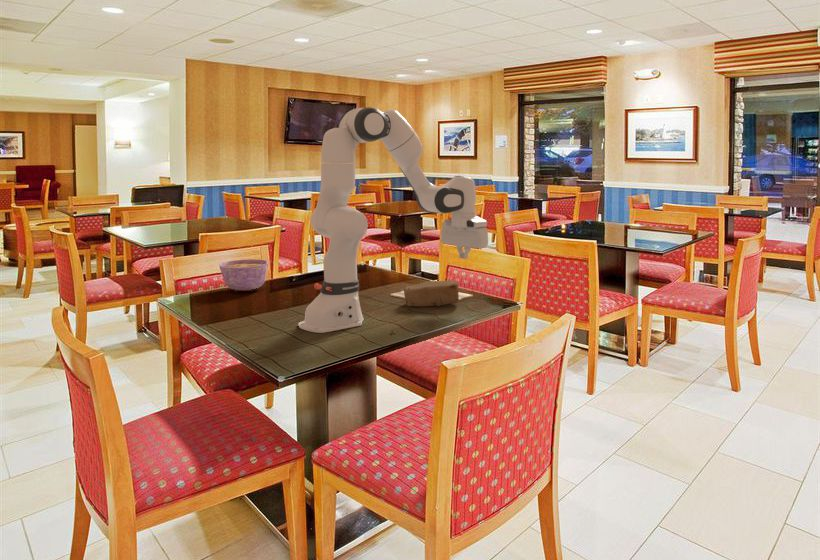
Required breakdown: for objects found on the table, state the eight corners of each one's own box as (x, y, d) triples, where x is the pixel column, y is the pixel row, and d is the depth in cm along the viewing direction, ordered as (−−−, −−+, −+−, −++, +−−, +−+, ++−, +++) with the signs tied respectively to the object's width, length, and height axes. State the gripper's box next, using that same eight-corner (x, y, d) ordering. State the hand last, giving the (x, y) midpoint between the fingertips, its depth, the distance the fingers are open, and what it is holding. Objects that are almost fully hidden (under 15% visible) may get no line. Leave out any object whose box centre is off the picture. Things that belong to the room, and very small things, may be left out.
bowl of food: (280, 288, 264) (278, 261, 261) (245, 297, 247) (242, 269, 245) (247, 283, 274) (245, 257, 272) (211, 292, 258) (208, 265, 255)
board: (438, 306, 227) (438, 304, 227) (390, 295, 245) (390, 294, 245) (473, 296, 241) (473, 294, 241) (425, 287, 259) (425, 285, 259)
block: (457, 284, 222) (402, 290, 223) (459, 304, 223) (405, 309, 225) (457, 277, 232) (404, 282, 234) (459, 296, 234) (407, 301, 236)
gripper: (436, 219, 230) (437, 256, 233) (479, 223, 216) (479, 262, 218) (448, 218, 234) (448, 254, 237) (490, 221, 220) (490, 260, 223)
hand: (463, 258), depth 228 cm, fingers closed
